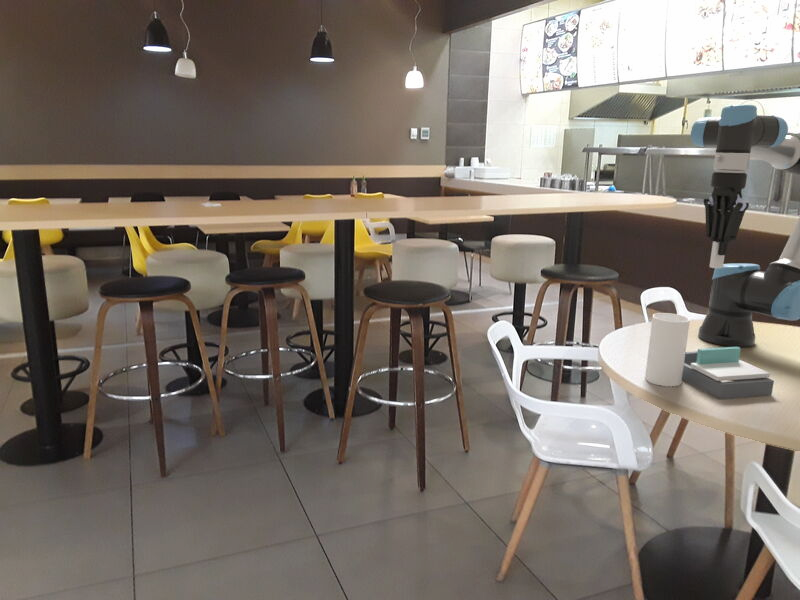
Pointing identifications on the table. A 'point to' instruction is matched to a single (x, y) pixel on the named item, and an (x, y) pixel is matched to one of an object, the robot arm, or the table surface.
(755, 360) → the table surface
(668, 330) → the cup
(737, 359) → the cover
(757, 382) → the grey shallow rectangular tray
